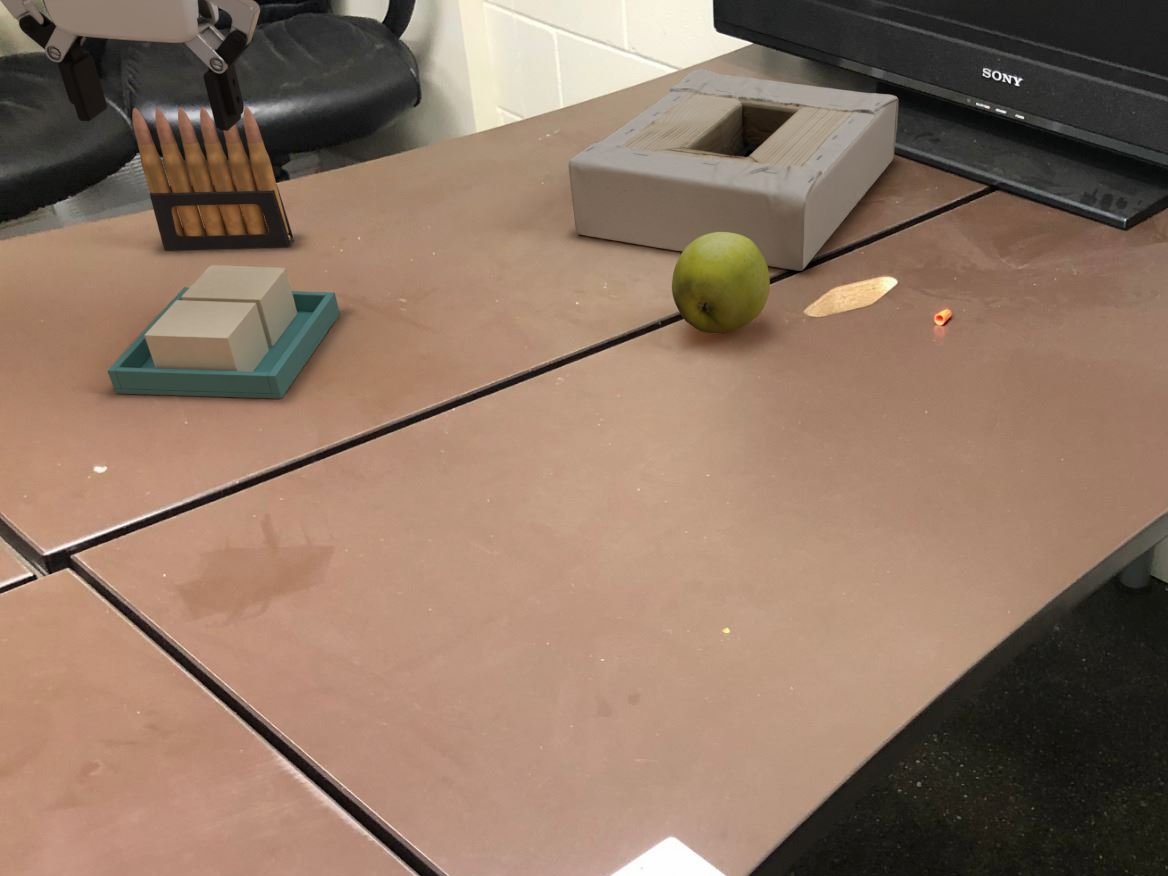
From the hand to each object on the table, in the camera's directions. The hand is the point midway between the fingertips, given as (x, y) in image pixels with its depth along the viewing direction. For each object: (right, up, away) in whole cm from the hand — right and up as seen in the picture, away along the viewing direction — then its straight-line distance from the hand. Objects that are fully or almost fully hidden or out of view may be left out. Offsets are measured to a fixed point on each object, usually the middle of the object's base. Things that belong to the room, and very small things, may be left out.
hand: (162, 119), depth 97 cm
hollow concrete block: (+39, +8, +38) cm, 55 cm away
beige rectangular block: (+1, -13, +10) cm, 16 cm away
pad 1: (+1, -17, +5) cm, 18 cm away
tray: (+1, -15, +8) cm, 17 cm away
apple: (+39, -12, +15) cm, 44 cm away
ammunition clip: (-7, -2, +23) cm, 24 cm away
